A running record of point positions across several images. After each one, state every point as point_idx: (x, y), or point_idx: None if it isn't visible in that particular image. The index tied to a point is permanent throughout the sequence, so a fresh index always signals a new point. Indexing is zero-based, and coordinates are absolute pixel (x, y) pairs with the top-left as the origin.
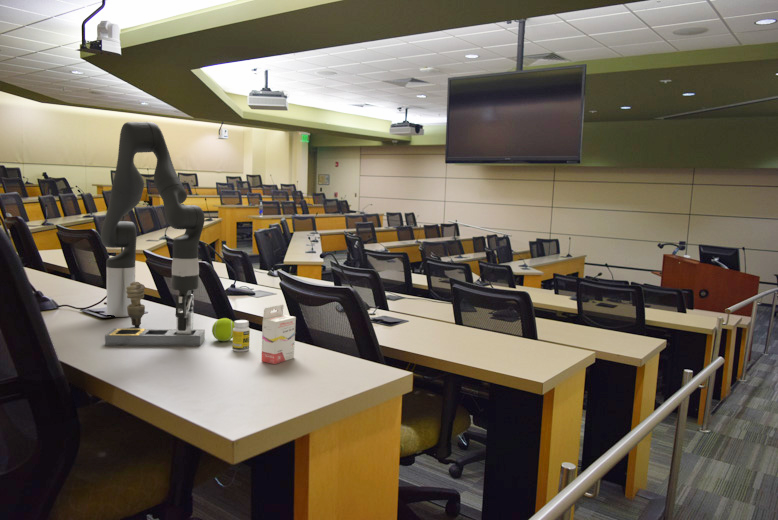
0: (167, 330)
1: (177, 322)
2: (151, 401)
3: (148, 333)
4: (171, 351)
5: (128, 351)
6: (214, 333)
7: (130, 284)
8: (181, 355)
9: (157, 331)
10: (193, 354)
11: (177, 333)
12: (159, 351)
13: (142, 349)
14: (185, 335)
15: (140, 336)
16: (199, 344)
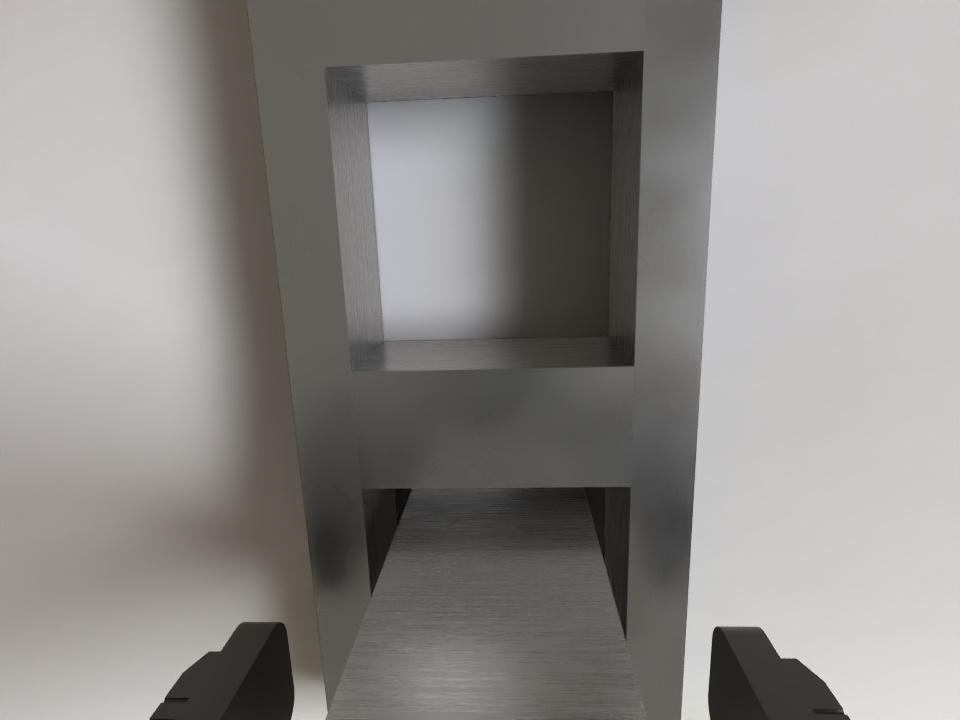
0: (631, 350)
1: (355, 654)
2: None
3: (584, 66)
4: (136, 474)
5: (47, 6)
6: None
7: None
8: (23, 587)
9: (633, 195)
10: (76, 674)
11: (399, 537)
12: (114, 359)
13: (159, 149)
14: (339, 636)
15: (256, 30)
16: None
